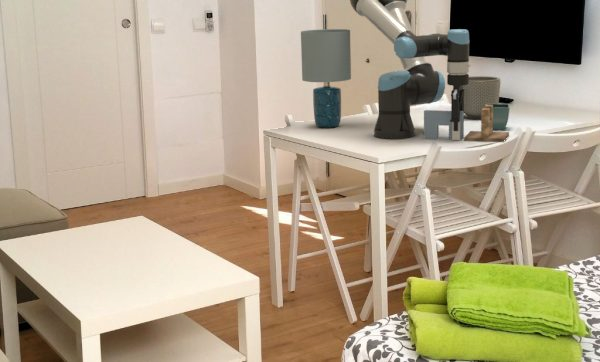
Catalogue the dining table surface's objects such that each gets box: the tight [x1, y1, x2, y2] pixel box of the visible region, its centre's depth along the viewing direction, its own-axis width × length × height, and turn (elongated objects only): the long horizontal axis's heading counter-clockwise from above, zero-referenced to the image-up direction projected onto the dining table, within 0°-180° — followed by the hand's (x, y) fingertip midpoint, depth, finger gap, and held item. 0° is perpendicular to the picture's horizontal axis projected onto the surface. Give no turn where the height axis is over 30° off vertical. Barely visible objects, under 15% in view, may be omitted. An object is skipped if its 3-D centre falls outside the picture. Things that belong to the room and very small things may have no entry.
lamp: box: [300, 28, 352, 129], centre depth 352 cm, size 19×19×38 cm
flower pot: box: [486, 103, 511, 131], centre depth 338 cm, size 9×9×9 cm
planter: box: [463, 75, 501, 120], centre depth 364 cm, size 17×17×16 cm
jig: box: [463, 105, 510, 143], centre depth 320 cm, size 14×13×11 cm
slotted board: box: [423, 109, 465, 141], centre depth 322 cm, size 14×2×10 cm, turn 70°
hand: (457, 138), depth 322 cm, fingers open, 5 cm apart
